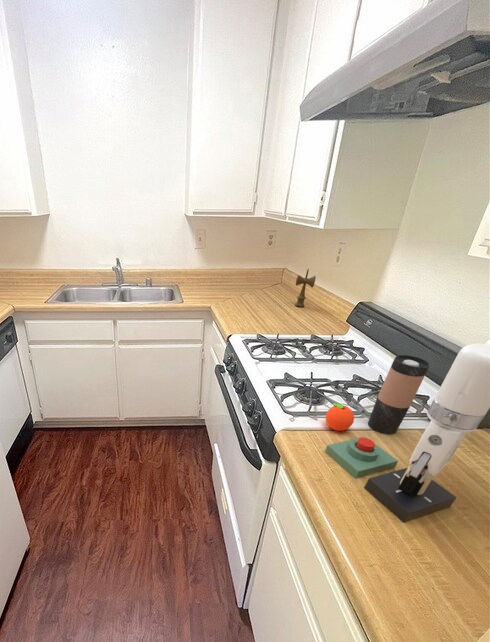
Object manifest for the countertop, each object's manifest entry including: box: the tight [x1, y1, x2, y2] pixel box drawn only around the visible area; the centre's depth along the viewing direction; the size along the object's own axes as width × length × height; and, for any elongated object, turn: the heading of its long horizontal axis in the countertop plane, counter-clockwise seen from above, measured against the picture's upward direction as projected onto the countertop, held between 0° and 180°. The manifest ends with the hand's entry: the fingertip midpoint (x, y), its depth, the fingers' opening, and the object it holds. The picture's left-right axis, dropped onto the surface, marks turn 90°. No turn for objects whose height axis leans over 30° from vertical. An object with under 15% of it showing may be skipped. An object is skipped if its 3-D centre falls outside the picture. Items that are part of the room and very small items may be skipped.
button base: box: [324, 436, 399, 479], centre depth 83 cm, size 12×10×4 cm
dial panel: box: [363, 467, 457, 523], centre depth 73 cm, size 13×10×3 cm
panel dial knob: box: [400, 464, 435, 495], centre depth 71 cm, size 4×4×5 cm
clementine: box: [325, 403, 355, 432], centre depth 93 cm, size 8×7×7 cm
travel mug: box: [367, 354, 430, 435], centre depth 90 cm, size 8×8×20 cm
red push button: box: [356, 437, 376, 453], centre depth 81 cm, size 4×4×2 cm
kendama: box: [294, 268, 317, 308], centre depth 191 cm, size 6×10×20 cm, turn 71°
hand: (412, 486), depth 72 cm, fingers closed on panel dial knob, 4 cm apart
